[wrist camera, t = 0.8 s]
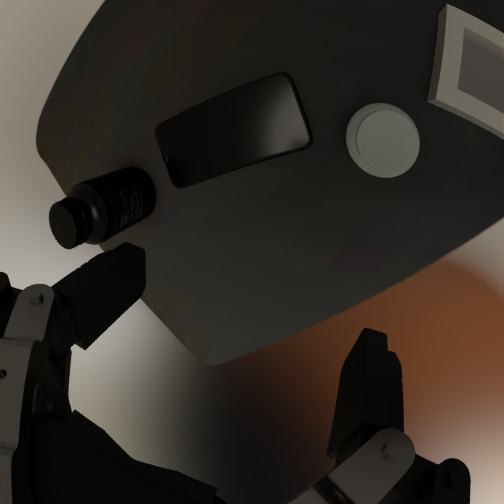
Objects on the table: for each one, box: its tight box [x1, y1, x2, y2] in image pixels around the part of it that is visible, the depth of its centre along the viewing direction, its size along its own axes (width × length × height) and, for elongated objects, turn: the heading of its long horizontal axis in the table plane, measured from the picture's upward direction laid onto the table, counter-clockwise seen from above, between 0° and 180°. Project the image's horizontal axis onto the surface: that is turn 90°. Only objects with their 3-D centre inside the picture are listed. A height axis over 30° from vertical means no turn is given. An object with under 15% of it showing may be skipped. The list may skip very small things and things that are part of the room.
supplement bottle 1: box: [49, 167, 155, 249], centre depth 29 cm, size 7×7×12 cm
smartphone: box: [155, 72, 313, 188], centre depth 28 cm, size 8×1×16 cm
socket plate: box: [427, 4, 504, 140], centre depth 16 cm, size 10×10×3 cm
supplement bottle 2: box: [346, 103, 420, 178], centre depth 19 cm, size 5×5×10 cm
